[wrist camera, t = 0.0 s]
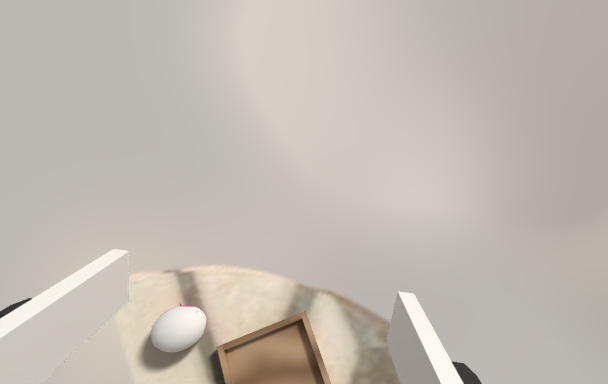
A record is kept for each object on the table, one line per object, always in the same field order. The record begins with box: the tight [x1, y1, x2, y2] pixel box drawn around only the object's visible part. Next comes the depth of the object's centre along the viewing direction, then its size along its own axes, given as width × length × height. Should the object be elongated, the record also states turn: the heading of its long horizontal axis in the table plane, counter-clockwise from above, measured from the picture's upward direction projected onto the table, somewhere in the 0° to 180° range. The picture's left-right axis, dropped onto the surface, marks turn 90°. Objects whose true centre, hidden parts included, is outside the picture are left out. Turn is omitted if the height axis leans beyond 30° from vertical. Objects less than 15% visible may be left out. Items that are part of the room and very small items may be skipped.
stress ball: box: [151, 303, 207, 352], centre depth 45 cm, size 8×8×7 cm
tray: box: [217, 311, 331, 384], centre depth 44 cm, size 14×14×2 cm
